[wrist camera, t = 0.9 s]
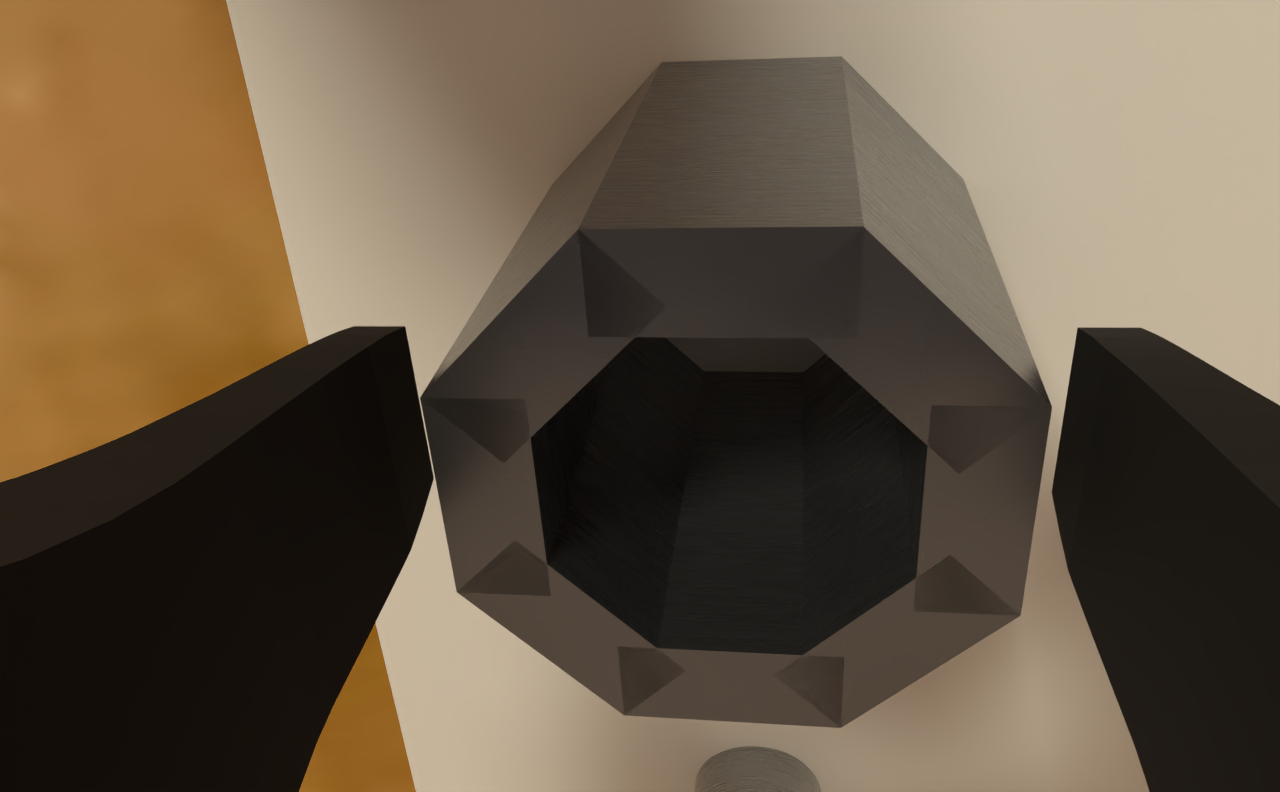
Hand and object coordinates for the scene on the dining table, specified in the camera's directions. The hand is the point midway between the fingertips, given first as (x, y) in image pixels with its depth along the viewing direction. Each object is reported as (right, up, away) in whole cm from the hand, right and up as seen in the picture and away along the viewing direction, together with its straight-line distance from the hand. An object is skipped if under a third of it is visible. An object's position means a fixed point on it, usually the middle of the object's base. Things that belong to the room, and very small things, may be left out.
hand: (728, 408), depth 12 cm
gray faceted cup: (+1, +2, +4) cm, 4 cm away
